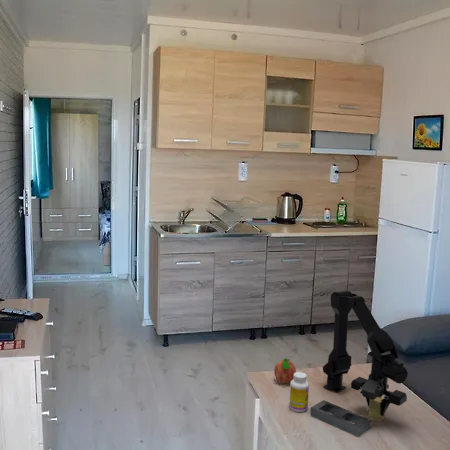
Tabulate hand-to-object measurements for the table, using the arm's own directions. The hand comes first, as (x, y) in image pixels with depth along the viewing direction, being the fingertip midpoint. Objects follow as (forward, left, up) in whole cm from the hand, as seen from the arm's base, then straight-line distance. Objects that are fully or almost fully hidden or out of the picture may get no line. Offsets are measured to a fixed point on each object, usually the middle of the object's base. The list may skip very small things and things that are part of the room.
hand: (376, 413), depth 186 cm
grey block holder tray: (+12, -7, -2) cm, 14 cm away
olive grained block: (0, 0, -2) cm, 2 cm away
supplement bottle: (+15, -23, -2) cm, 27 cm away
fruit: (+1, -40, -2) cm, 40 cm away
